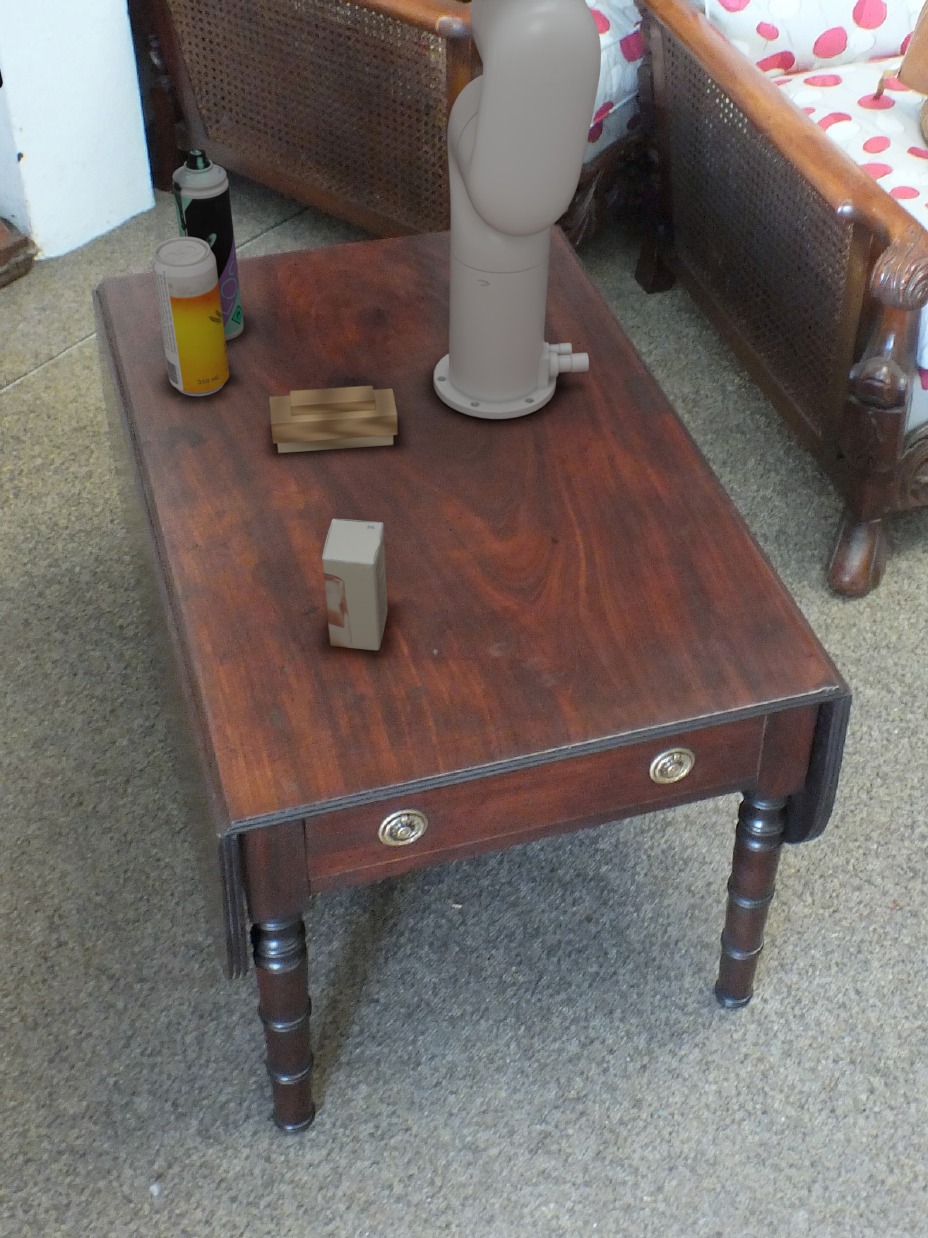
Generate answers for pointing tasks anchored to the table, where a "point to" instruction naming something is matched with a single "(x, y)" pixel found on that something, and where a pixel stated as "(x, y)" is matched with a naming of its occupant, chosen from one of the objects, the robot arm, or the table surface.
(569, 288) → the table surface
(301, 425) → the tan rectangular block
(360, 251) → the table surface
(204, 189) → the spray can
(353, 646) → the white box
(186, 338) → the beer can
